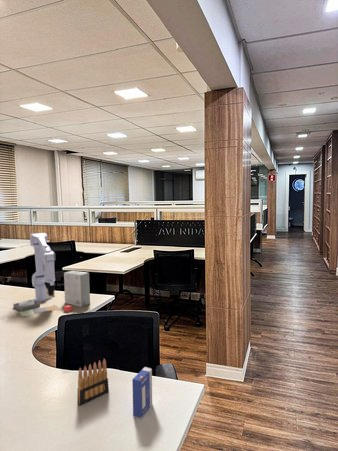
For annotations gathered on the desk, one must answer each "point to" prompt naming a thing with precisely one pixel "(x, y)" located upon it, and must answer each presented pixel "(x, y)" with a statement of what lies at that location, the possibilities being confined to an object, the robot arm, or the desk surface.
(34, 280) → the robot arm
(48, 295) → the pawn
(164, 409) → the desk surface
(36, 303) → the button housing
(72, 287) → the hard drive box
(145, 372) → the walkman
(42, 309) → the game mat
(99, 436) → the desk surface
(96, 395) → the ammunition clip
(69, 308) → the red die
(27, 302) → the dome button
